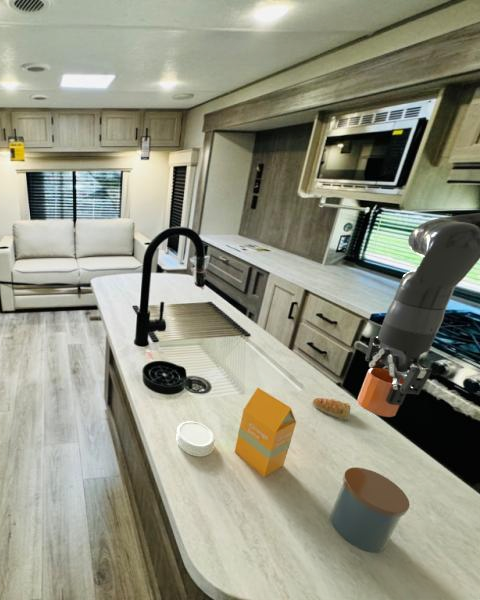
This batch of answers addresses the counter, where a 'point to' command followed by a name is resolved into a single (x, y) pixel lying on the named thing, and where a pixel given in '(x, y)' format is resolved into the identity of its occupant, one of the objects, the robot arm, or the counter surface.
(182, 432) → the white round tub
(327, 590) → the counter surface
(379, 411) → the cup
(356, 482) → the jar
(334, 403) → the pastry
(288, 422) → the orange juice
